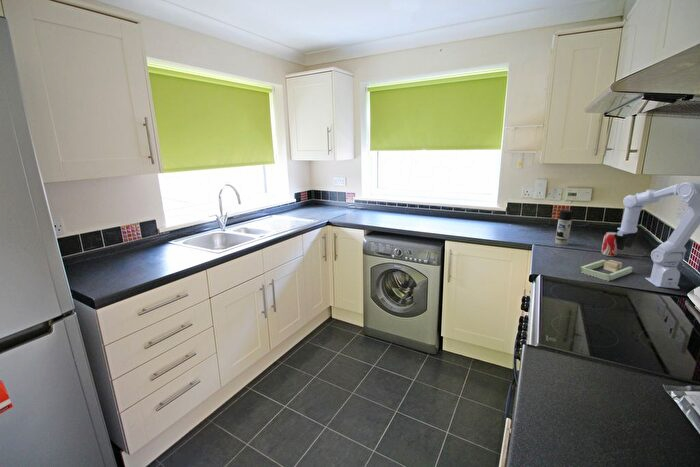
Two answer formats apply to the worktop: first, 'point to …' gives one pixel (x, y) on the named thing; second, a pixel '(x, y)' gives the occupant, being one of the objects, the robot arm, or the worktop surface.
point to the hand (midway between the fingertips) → (623, 248)
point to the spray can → (563, 227)
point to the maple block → (612, 265)
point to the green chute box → (588, 270)
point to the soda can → (609, 244)
